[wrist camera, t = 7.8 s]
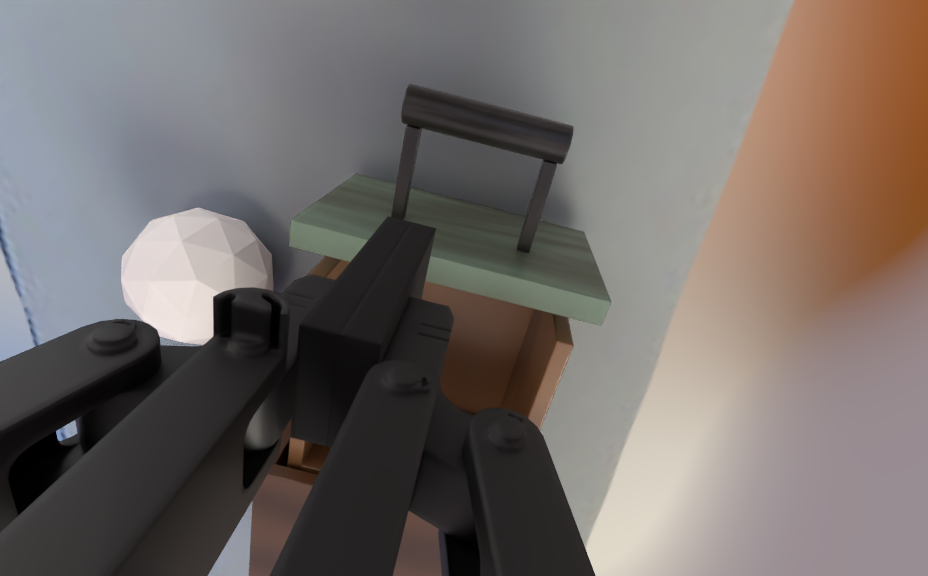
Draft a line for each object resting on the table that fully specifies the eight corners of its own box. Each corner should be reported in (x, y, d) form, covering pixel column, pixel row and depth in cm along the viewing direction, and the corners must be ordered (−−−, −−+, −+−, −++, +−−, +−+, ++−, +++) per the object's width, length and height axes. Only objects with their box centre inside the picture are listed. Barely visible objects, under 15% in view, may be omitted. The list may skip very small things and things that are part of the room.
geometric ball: (266, 213, 33) (274, 202, 26) (271, 330, 33) (281, 351, 26) (132, 211, 30) (99, 197, 22) (141, 340, 30) (111, 367, 23)
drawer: (370, 62, 25) (301, 65, 17) (622, 128, 25) (671, 160, 17) (329, 375, 34) (271, 472, 26) (514, 421, 34) (514, 532, 26)
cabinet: (326, 355, 34) (253, 471, 25) (526, 406, 34) (530, 540, 25) (308, 504, 41) (245, 639, 31) (474, 545, 41) (462, 692, 32)
